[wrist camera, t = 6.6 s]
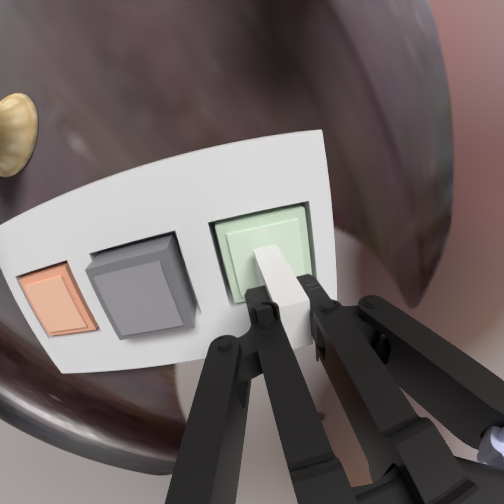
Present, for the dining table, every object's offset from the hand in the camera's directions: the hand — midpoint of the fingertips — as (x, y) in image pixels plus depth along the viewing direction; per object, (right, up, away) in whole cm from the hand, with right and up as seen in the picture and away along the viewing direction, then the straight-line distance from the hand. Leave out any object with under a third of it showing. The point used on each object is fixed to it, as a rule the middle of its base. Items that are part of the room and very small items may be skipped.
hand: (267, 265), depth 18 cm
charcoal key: (-9, -1, +2) cm, 9 cm away
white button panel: (-9, 0, +5) cm, 11 cm away
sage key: (0, +2, +4) cm, 4 cm away
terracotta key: (-18, -2, +3) cm, 18 cm away
